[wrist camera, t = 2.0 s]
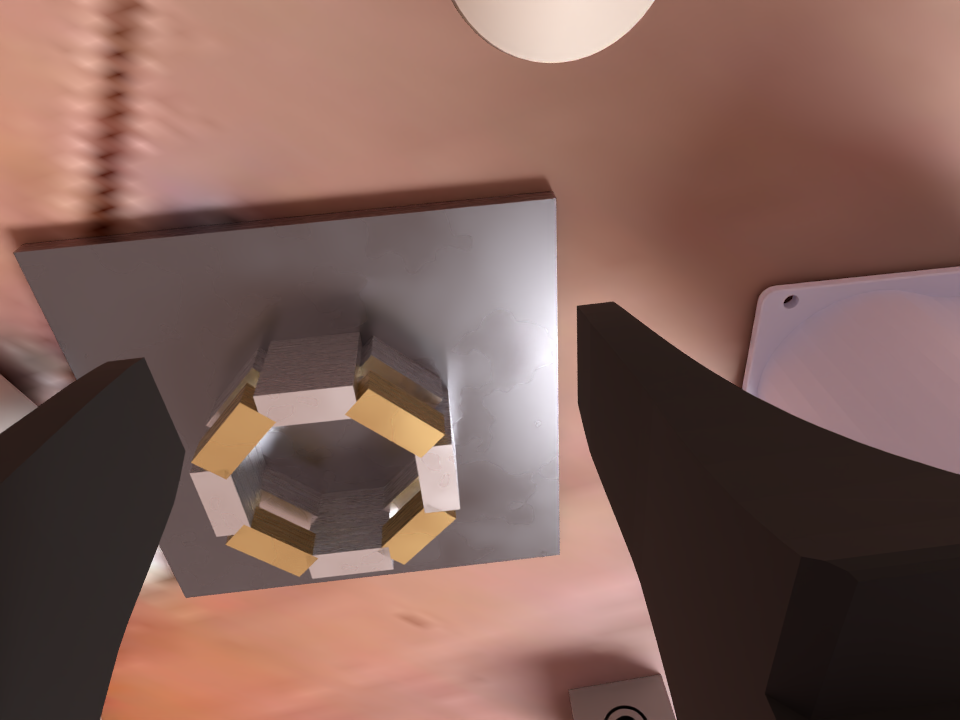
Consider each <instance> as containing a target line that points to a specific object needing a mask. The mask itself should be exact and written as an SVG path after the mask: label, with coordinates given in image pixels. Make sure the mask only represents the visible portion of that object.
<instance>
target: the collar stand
mask: <svg viewBox="0 0 960 720" xmlns="http://www.w3.org/2000/svg"><path fill="white" fill-rule="evenodd" d="M13 253H14V255H15V257H16V259H17V261H18V263H19V265H20V267H21V269H22V271H23V273H24V275H25V277H26V279H27V281H28V283H29V285H30V287H31V289H32V291H33V293H34V295H35V297H36V299H37V301H38V303H39V305H40V307H41V309H42V311H43V313H44V315H45V317H46V319H47V321H48V323H49V325H50V327H51V329H52V331H53V333H54V335H55V337H56V339H57V341H58V343H59V345H60V347H61V349H62V351H63V353H64V355H65V357H66V359H67V361H68V363H69V365H70V367H71V369H72V371H73V373H74V375H75V377H76V379H79V378H80V377H82V376H84V375H85V374H87V373H88V372H90V371H91V370H93V369H95V368H96V367H98V366H100V365H102V364H104V363H106V362H108V361H116V360H125V359H133V358H142V357H144V358H145V360H146V362H147V365H148V367H149V369H150V372H151V374H152V376H153V378H154V381H155V383H156V385H157V387H158V390H159V392H160V394H161V396H162V399H163V401H164V403H165V405H166V408H167V410H168V412H169V415H170V417H171V419H172V421H173V424H174V426H175V428H176V430H177V433H178V435H179V437H180V439H181V442H182V444H183V446H184V449H185V456H184V461H183V466H182V471H181V476H180V481H179V485H178V489H177V493H176V498H175V502H174V505H173V508H172V510H171V513H170V516H169V519H168V521H167V524H166V527H165V529H164V532H163V534H162V537H161V540H160V542H159V545H160V547H161V549H162V551H163V553H164V555H165V557H166V559H167V561H168V563H169V565H170V567H171V569H172V571H173V573H174V575H175V577H176V579H177V581H178V583H179V585H180V587H181V589H182V591H183V593H184V595H185V597H186V598H189V597H197V596H206V595H215V594H223V593H232V592H241V591H249V590H258V589H267V588H275V587H284V586H293V585H301V584H310V583H319V582H327V581H336V580H345V579H353V578H362V577H371V576H379V575H388V574H397V573H405V572H414V571H423V570H431V569H440V568H449V567H457V566H466V565H475V564H483V563H492V562H501V561H509V560H518V559H527V558H535V557H544V556H553V555H560V532H559V432H558V332H557V231H556V197H555V195H554V193H553V191H550V192H540V193H530V194H520V195H510V196H500V197H490V198H480V199H470V200H460V201H450V202H440V203H430V204H420V205H410V206H400V207H390V208H380V209H370V210H360V211H350V212H340V213H330V214H320V215H310V216H300V217H290V218H280V219H270V220H260V221H250V222H240V223H230V224H220V225H210V226H200V227H190V228H180V229H170V230H160V231H150V232H140V233H130V234H120V235H110V236H100V237H90V238H80V239H70V240H60V241H50V242H40V243H30V244H23V245H22V246H20V247H19V248H18V249H17V250H16V251H15V252H13Z"/></svg>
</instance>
